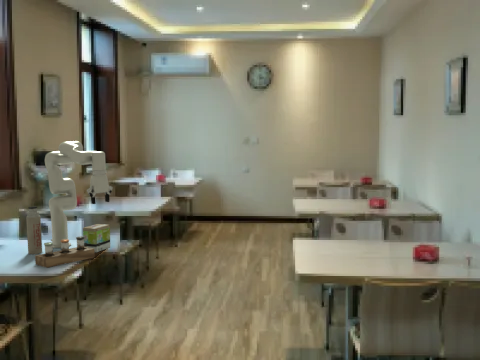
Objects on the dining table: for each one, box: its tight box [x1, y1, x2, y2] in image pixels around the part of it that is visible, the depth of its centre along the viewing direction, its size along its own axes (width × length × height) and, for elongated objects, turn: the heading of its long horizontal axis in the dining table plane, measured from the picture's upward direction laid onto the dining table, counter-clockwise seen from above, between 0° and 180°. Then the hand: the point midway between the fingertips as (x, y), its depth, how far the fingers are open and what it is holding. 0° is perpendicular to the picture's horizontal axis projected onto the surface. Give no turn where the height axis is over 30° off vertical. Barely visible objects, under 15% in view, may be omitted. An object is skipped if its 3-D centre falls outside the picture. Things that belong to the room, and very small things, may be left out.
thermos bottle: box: [25, 205, 43, 255], centre depth 338 cm, size 8×8×28 cm
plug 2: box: [75, 235, 84, 250], centre depth 324 cm, size 5×5×7 cm
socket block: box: [34, 246, 96, 268], centre depth 317 cm, size 12×30×5 cm, turn 139°
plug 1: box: [43, 241, 54, 257], centre depth 309 cm, size 5×5×7 cm
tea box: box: [82, 223, 111, 253], centre depth 344 cm, size 15×10×15 cm
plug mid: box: [60, 238, 70, 254], centre depth 317 cm, size 5×5×7 cm
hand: (100, 202), depth 325 cm, fingers open, 9 cm apart
